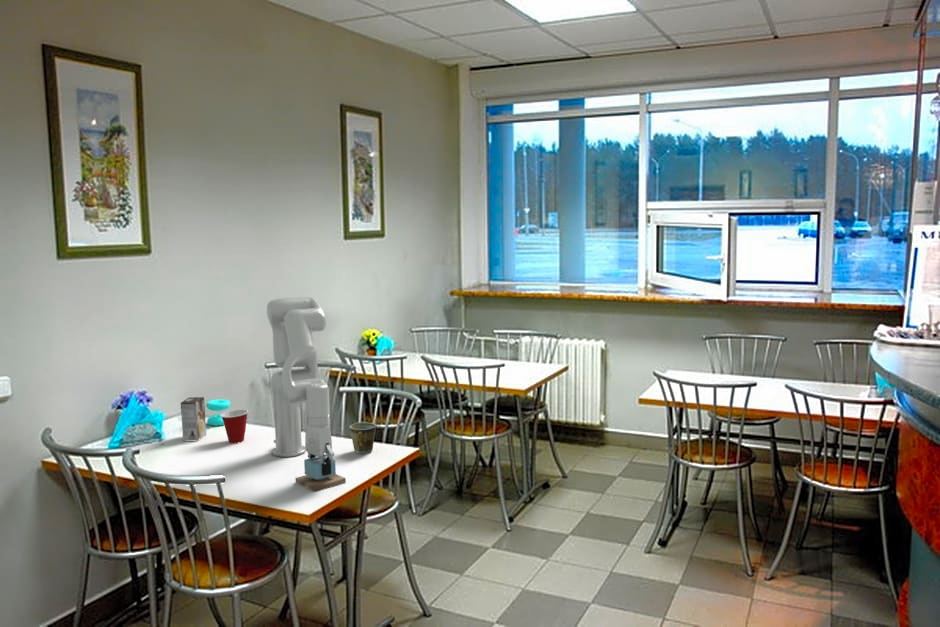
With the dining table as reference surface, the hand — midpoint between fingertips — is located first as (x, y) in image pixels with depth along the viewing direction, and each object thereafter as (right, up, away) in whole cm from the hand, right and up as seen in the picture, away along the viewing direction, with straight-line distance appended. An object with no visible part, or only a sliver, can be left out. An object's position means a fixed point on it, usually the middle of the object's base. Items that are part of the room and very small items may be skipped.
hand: (320, 471), depth 252 cm
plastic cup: (-43, +2, +48) cm, 65 cm away
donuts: (-59, +5, +75) cm, 95 cm away
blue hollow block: (0, -1, 0) cm, 1 cm away
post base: (0, -4, 0) cm, 4 cm away
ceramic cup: (+10, 0, +32) cm, 34 cm away
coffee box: (-62, +2, +53) cm, 82 cm away
